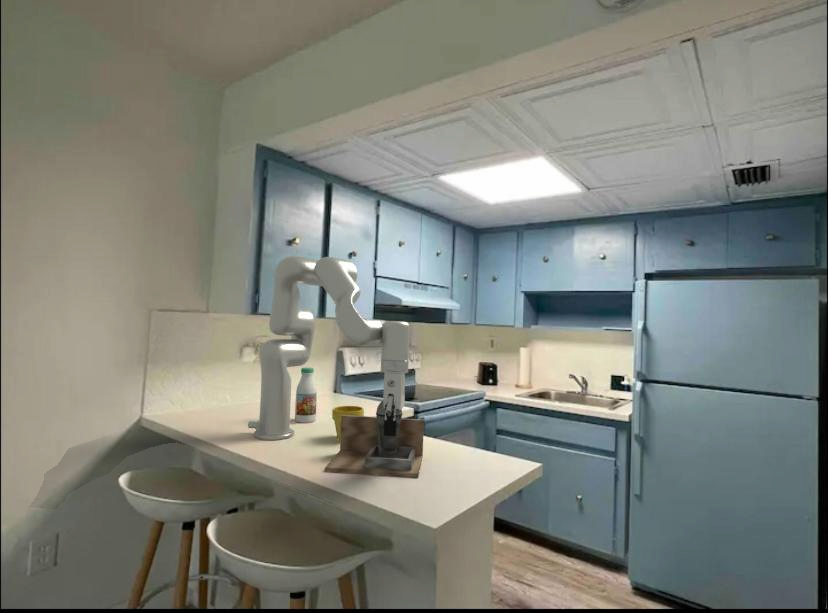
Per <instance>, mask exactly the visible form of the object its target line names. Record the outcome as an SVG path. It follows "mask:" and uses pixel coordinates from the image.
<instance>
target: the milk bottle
mask: <svg viewBox="0 0 828 613" xmlns="http://www.w3.org/2000/svg"><path fill="white" fill-rule="evenodd" d="M300 372H301V373H300V374H301V377H300V379H299V383H297V386H296V392H295V406H294V421H295V422H296V423H299V424H301V423H302V424H308V423H309V424H310V423H313V422H315V421H316V420H317V418H316V417H317V397H318V396H317V394H318V392H317V391H318V390H317V386H316V383H315V380H314V376H313V375H314V368H313V367H301V368H300Z"/></svg>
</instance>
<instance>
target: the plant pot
mask: <svg viewBox="0 0 828 613" xmlns="http://www.w3.org/2000/svg"><path fill="white" fill-rule="evenodd" d="M331 410H332V411H331V412H332V414H331V416H332V420H334V421H333V422H334V427H335V432H336V438H337V440H339V441H340V439H341V416H342V415H350V416H365V409H364V407H362V406H359V405H358V406H357V405H339V406H335V407H333V408H332V409H331Z"/></svg>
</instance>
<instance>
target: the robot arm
mask: <svg viewBox="0 0 828 613" xmlns="http://www.w3.org/2000/svg"><path fill="white" fill-rule="evenodd" d="M273 274H274V275H273V283H274V284H273V286H274V288H273V289H274V290H273V297H272V303H271V310H270V316H269V322H268V323H269V324H268V327H269V331H271V333H272V334H273V335H277V336H285V337H286V336H291V338H273V339H269V340H266V341H265V342H264V343H262V345H261V346H260V348H259V352H258V358H259V362H260V363H259V364H260V371H261V372H260V374H261V378H260V380H261V381H260V382H261V383H260V403H259V404H260V406H259V420H258V421H253V420H250V421H248V423H247V426H248V429H255V431H254V432H253V437H254V438H255V439H258V440H263V441H264V440H265V441H266V440H267V441H276V440H284V439H288V438H291V437H293V436H294V434H295V431H294V429H292V428H291V427H290V422H291V421H290V420H291V419H290V418H291V401H292V400H291V398H292V396H291V395H292V379H291V375H290V372H289V371H288V369H287V368H291V367H294V368H295V367H301V366H304V365H305V364H306V363H307V362H308V361H309V359H310V357H311V353H312V348H313V342H314V336H315V329H316V319H315V316H314V314H313V312H312V311H311V310H309V309H308V308H305V307H300V302H301V292H300V289H299V287H298V285H297V284H301V285H302V284H303V285H310V286H318V287H323V289H324V290H325V291H326V292H325V293H327V294H328V296H329V297H330V299H331V300H332V302H333V303H334V304H335V308H334V315H335V321H336V324H337V326H338V328H339V329H340V331H341V332H342V333H343V336H345V338H346V340H348V341H349V342H350V343H351V344H352V345H354V346H356V347H381V352H380V353H381V357H380V372H382V373H384V374H383V375H384V376H383V390H382V391H383V393H382V401H383V408H384V409H385V408H386V409H385V410H386V412H385V420H384V435H385V436H396V423H397V421H395V420H396V410H397V409H399V411H400V410H401V409H402V410H403V408H404V407H405V401H406V399H405V398H406V394H405V393H406V391H405V389H406V388H405V387H406V377H405V376H406V374H407V373H409V359H410V358H409V356H410V355H409V354H410V336H411V334H410V333H411V331H410V330H411V327H410V324H409V322H406V321H400V320H399V321H397V320H396V321H394V320H384V319H373V318H372V319H371V318H363V317H362V316H361V315H360V313H359V312H358V311H357V309H356V307H354V304H355V303H356V302H358V300H359V298H360V297H361V289H360V287H359V286H358V285H357V283H356V281H357V278H358V270H357V267H356V266H355V265H354V263H353V262H352V261H350V260H347V259H345V258H338V257H333V256H325V257H322V258H319V259H314V258H308V257H304V256H295V255H294V256H293V255H292V256H286V257H284V258H283V259H281V260H280V261H279V262H278V263H277V264H276V267H275V270H274V273H273ZM393 399H394V401H393ZM385 405H386V407H385ZM392 407H395V409H392ZM393 412H394V413H393Z"/></svg>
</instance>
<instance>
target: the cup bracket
mask: <svg viewBox="0 0 828 613" xmlns="http://www.w3.org/2000/svg"><path fill="white" fill-rule="evenodd" d="M424 424H425V419H418V418H416V419H415V418H401V422H400V428H399V436H398V444H397V451H396V457H395V458H382V457H379V447H378V422H377V417H376V416H365V415H364V416H350V415H342V416H341V439H340V440H339V441H340V442H339V444H340V446H339V451H338V452H337V453H336V454H335V456H334V457H333V458H332V459H331V460H330V461H329V462H328V463H327V464H326V466H325V467H324V472H328V471H332V472H331V473H342V472H348V473H347V474H357V473H358V474H359V473H362V474H361V475H372V474H378V475H377V476H386V475H391V476H390V477H401V476H404V478H416V477H418V478H419V476H420V472H419V471H421V466H422V463H423V459H422V458H424V457H423V455H424V454H423V453H424V431H425V430H424V428H425V425H424ZM421 462H422V463H421ZM333 471H334V472H333ZM358 474H357V475H358ZM359 475H360V474H359Z"/></svg>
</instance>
